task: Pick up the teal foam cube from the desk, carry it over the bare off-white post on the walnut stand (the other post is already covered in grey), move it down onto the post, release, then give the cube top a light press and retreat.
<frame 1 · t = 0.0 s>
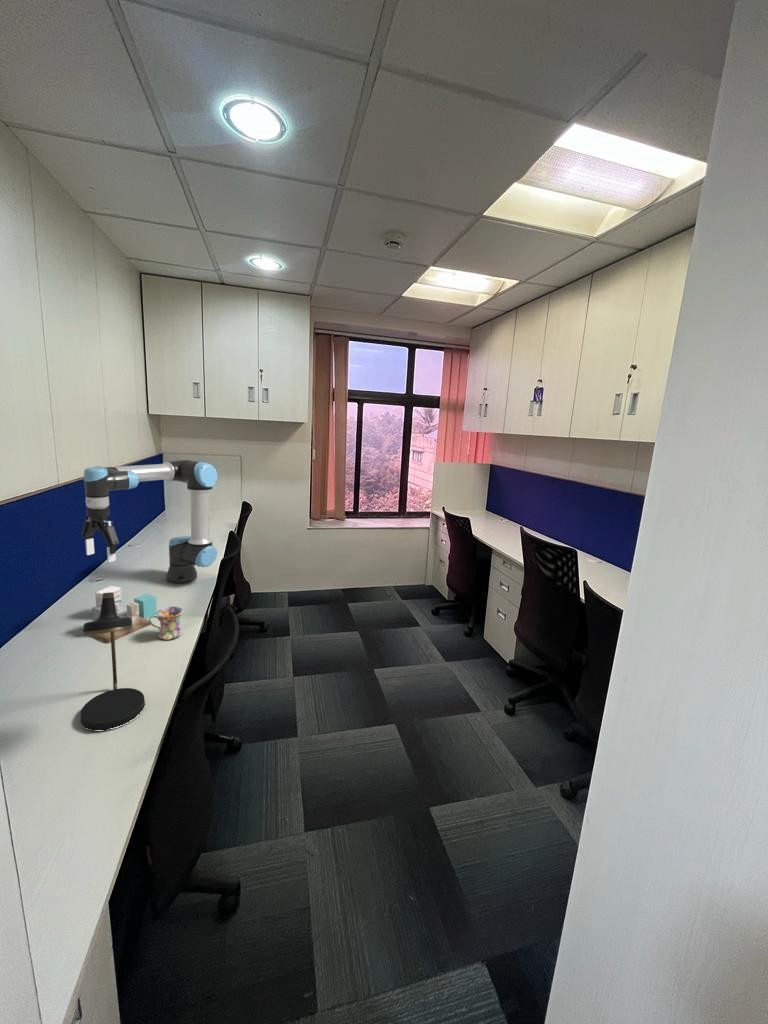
hand: (100, 557, 167), 28 cm above the table, fingers open, 13 cm apart
teal foam cube: (145, 615, 180), on the table
ink box: (109, 615, 178), on the table
lamp: (114, 709, 124), on the table
stand: (121, 629, 167), on the table
mug: (166, 636, 165), on the table
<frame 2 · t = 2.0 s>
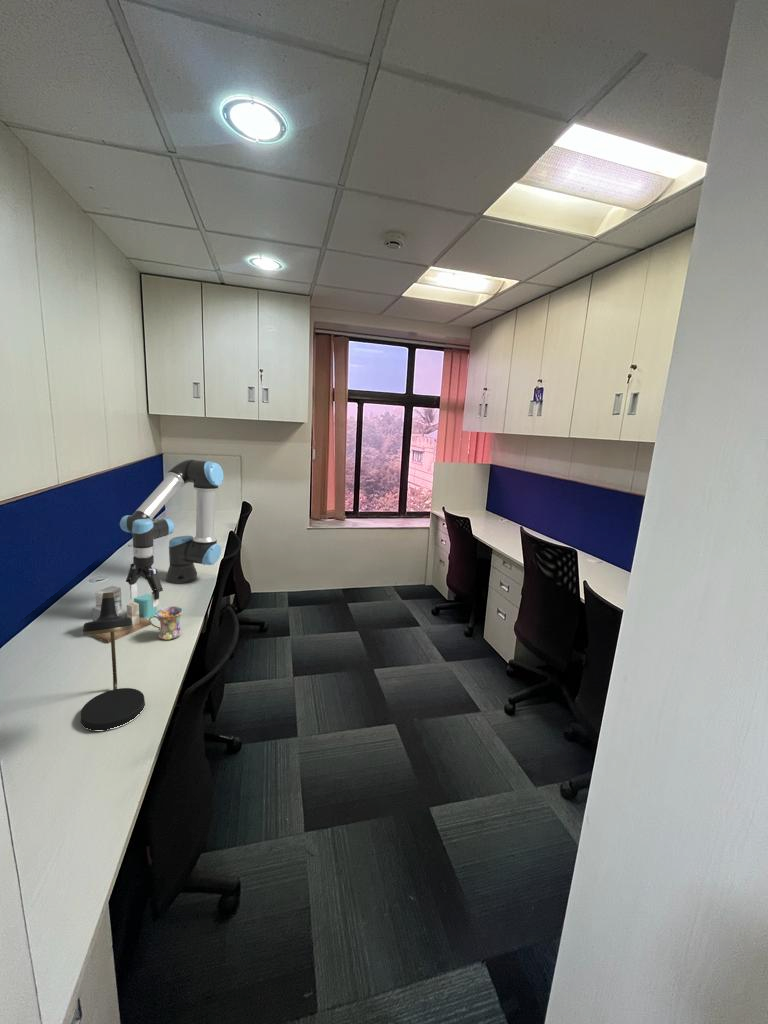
hand: (144, 602, 178), 6 cm above the table, fingers open, 13 cm apart
nothing on the table moved.
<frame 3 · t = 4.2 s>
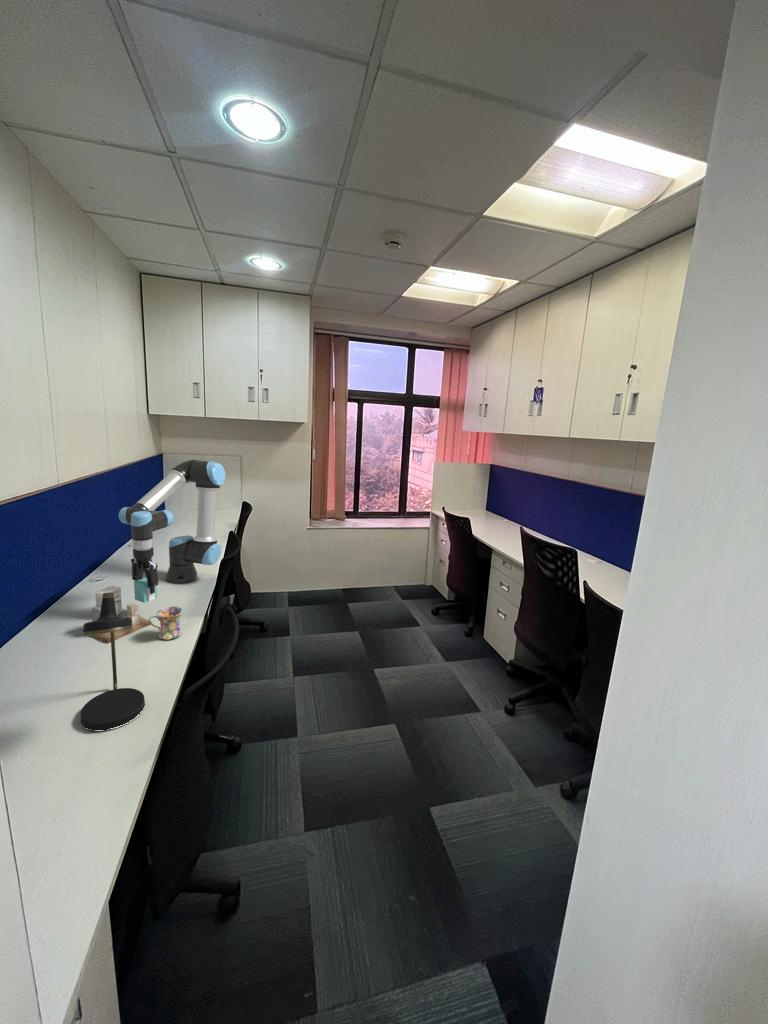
hand: (146, 597, 179), 8 cm above the table, fingers closed on teal foam cube, 6 cm apart
teal foam cube: (146, 598, 179), point 8 cm above the table, touching gripper
everything else where it was.
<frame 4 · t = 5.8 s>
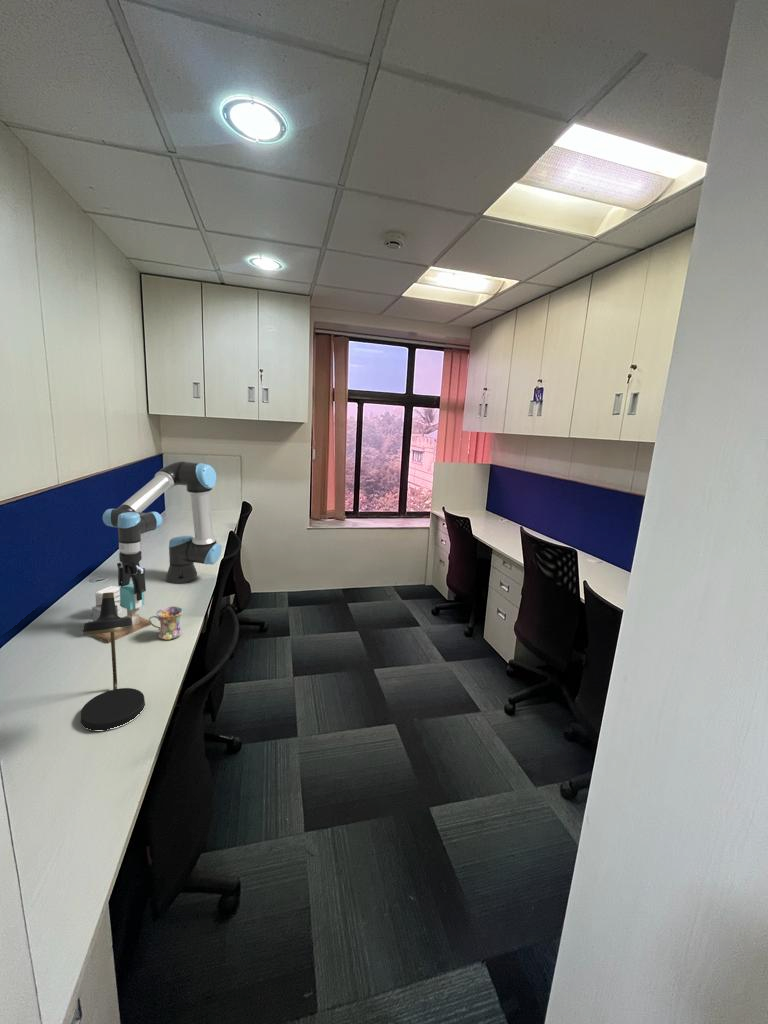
hand: (132, 604, 168), 10 cm above the table, fingers closed on teal foam cube, 6 cm apart
teal foam cube: (132, 605, 168), point 9 cm above the table, touching gripper
everything else where it was.
when the fingers open (3 cm above the table, at t = 7.6 s): teal foam cube stays where it is, resting on stand.
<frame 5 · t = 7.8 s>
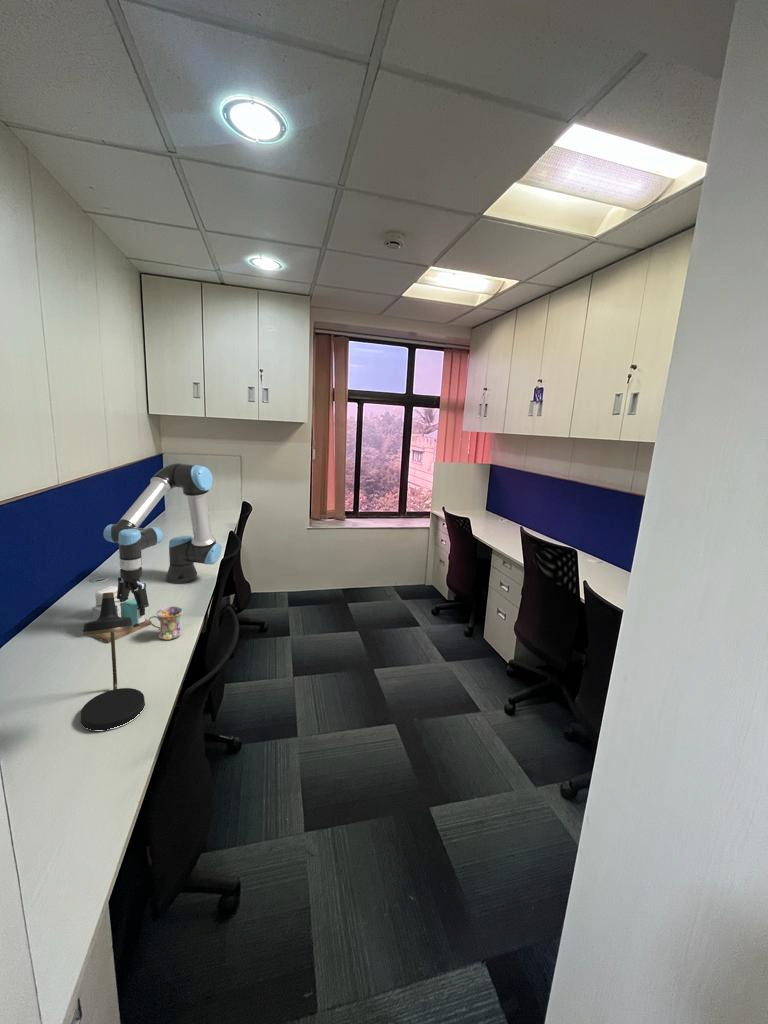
hand: (133, 618, 169), 3 cm above the table, fingers open, 9 cm apart
teal foam cube: (133, 621, 170), point 2 cm above the table, touching stand
everything else where it was.
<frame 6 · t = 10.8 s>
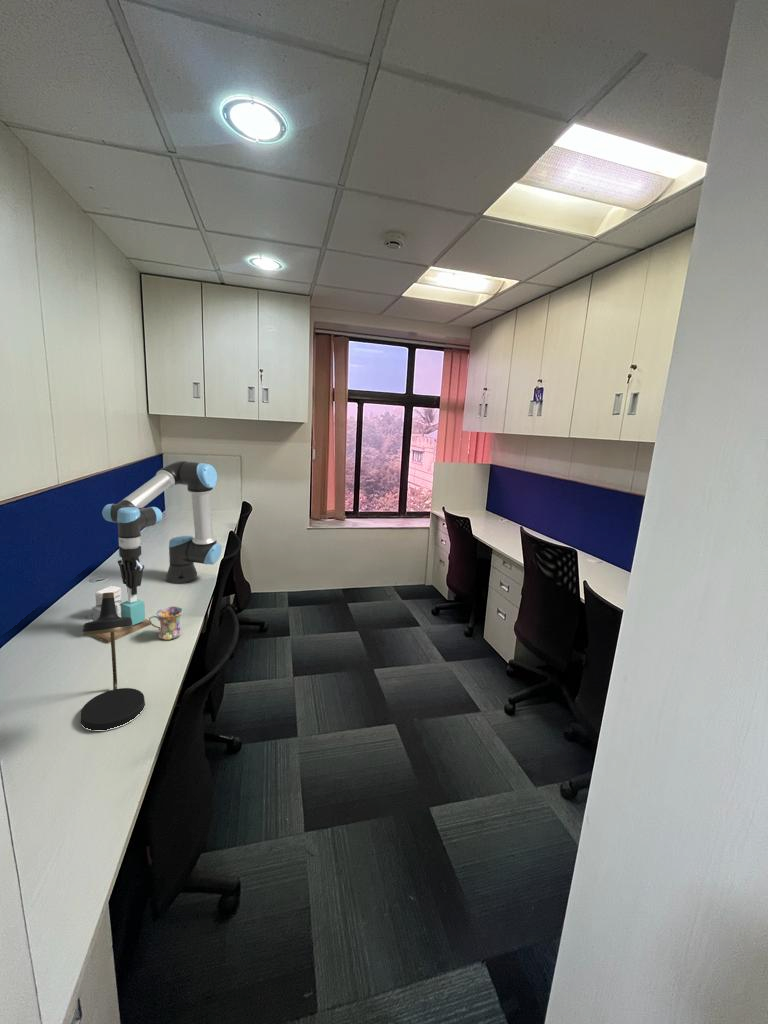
hand: (132, 601, 168), 11 cm above the table, fingers closed
nothing on the table moved.
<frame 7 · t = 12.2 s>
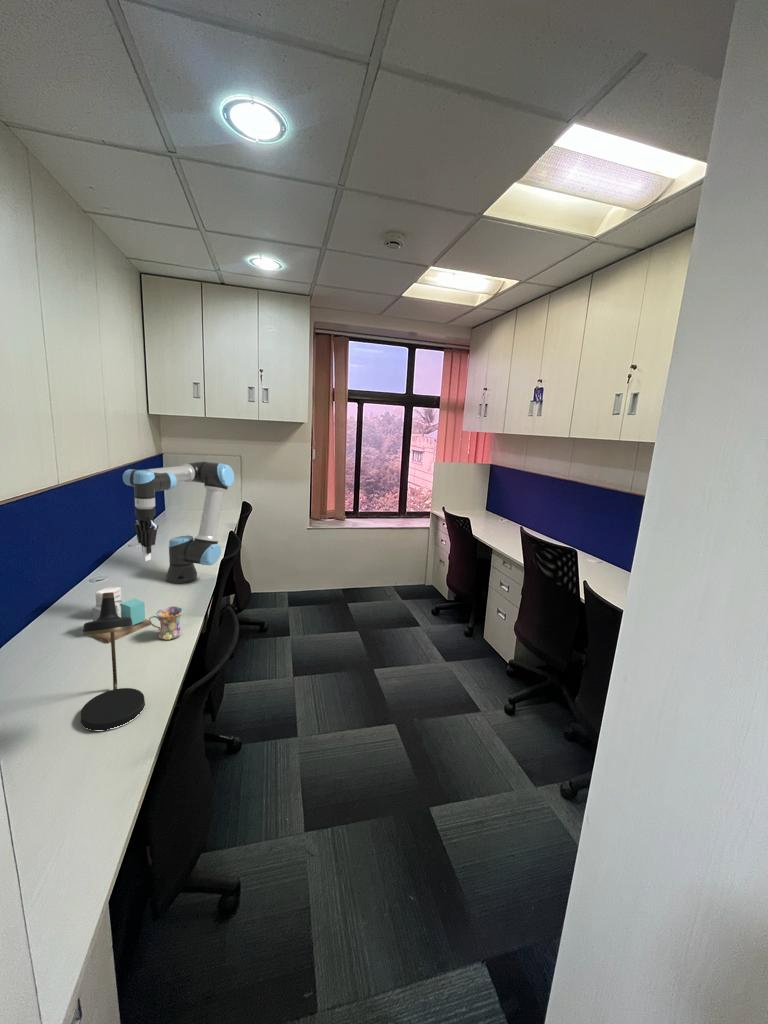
hand: (147, 559, 178), 24 cm above the table, fingers closed
nothing on the table moved.
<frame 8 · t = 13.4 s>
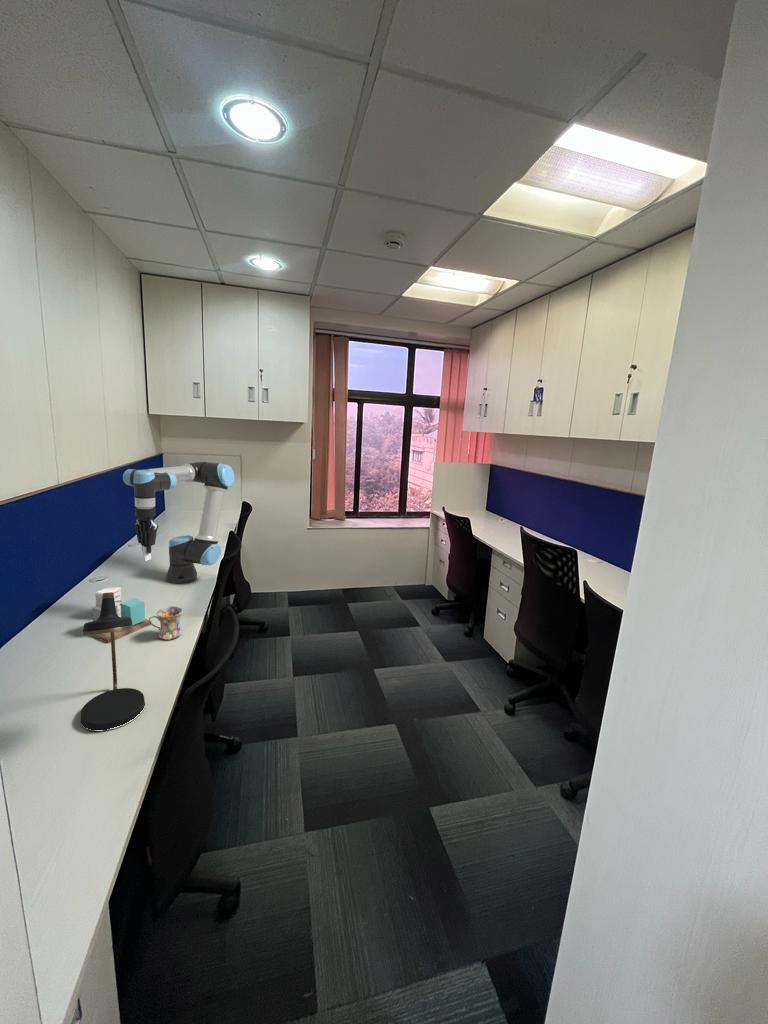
hand: (147, 559, 178), 24 cm above the table, fingers closed
nothing on the table moved.
at the end: teal foam cube 0.0 cm from the target spot, point 2.5 cm above the table; teal foam cube tilted 0°; the gripper is holding nothing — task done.
